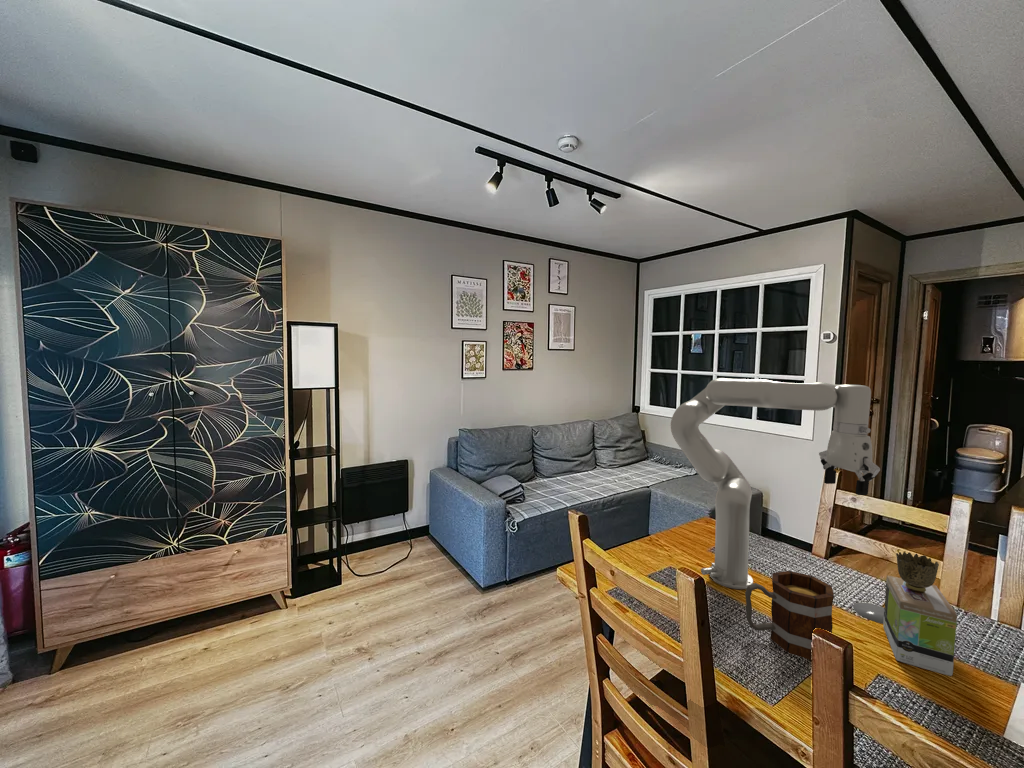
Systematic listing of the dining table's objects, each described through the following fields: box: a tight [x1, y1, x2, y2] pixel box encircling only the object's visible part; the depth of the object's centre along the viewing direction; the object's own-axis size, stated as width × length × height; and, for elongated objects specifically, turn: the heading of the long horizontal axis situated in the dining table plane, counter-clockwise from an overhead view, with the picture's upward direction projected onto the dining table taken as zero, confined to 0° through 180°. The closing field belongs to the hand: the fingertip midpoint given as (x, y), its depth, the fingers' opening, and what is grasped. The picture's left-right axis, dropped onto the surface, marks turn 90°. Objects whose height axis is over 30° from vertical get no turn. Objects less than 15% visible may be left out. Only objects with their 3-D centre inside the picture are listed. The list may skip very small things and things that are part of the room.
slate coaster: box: [852, 602, 885, 624], centre depth 118 cm, size 10×10×1 cm
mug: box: [744, 570, 835, 661], centre depth 106 cm, size 20×14×15 cm
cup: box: [895, 551, 940, 593], centre depth 103 cm, size 8×7×8 cm
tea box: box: [882, 574, 958, 677], centre depth 103 cm, size 15×10×15 cm, turn 148°
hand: (845, 488), depth 119 cm, fingers open, 9 cm apart
